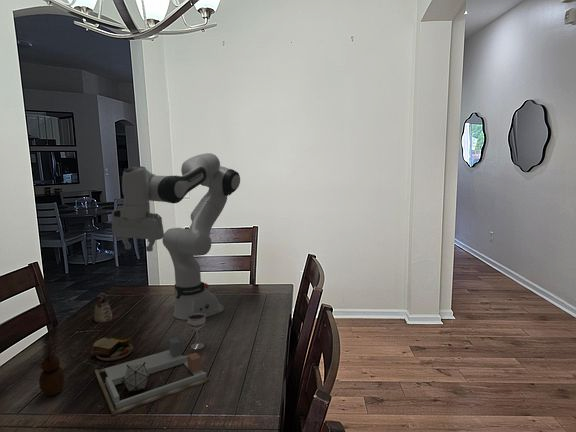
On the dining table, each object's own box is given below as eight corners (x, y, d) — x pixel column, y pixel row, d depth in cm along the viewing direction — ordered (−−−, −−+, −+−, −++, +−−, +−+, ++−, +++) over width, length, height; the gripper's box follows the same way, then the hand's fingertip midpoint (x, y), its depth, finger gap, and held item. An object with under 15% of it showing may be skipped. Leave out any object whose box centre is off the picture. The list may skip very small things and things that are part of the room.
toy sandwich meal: (119, 364, 133) (118, 351, 133) (85, 360, 136) (84, 347, 135) (140, 347, 146) (139, 335, 145) (108, 343, 148) (107, 332, 148)
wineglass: (210, 343, 148) (209, 313, 146) (200, 351, 142) (199, 320, 140) (194, 340, 150) (193, 311, 148) (184, 348, 144) (183, 318, 142)
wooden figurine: (49, 386, 120) (44, 340, 118) (68, 385, 121) (64, 340, 119) (37, 399, 114) (32, 351, 111) (57, 398, 114) (53, 350, 112)
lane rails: (180, 348, 144) (180, 345, 144) (209, 380, 123) (209, 377, 123) (95, 373, 127) (94, 369, 127) (112, 415, 107) (112, 411, 106)
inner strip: (176, 350, 142) (175, 335, 141) (183, 359, 136) (182, 343, 135) (105, 371, 128) (103, 354, 127) (110, 382, 122) (108, 364, 121)
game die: (140, 404, 117) (138, 391, 111) (116, 391, 119) (112, 378, 112) (158, 377, 124) (156, 363, 117) (135, 365, 125) (132, 351, 118)
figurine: (115, 316, 173) (113, 290, 171) (106, 323, 166) (104, 296, 164) (100, 315, 174) (98, 290, 172) (91, 322, 167) (88, 295, 165)
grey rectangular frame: (190, 359, 136) (190, 346, 135) (207, 378, 124) (207, 363, 123) (105, 386, 120) (104, 371, 119) (116, 410, 108) (115, 394, 107)
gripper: (166, 212, 138) (168, 250, 140) (120, 210, 145) (122, 246, 147) (155, 214, 132) (157, 254, 134) (107, 212, 139) (110, 249, 141)
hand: (138, 250), depth 141 cm, fingers open, 8 cm apart
